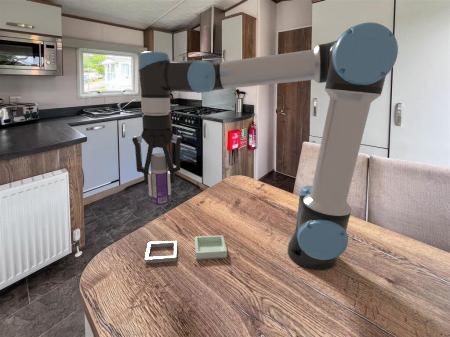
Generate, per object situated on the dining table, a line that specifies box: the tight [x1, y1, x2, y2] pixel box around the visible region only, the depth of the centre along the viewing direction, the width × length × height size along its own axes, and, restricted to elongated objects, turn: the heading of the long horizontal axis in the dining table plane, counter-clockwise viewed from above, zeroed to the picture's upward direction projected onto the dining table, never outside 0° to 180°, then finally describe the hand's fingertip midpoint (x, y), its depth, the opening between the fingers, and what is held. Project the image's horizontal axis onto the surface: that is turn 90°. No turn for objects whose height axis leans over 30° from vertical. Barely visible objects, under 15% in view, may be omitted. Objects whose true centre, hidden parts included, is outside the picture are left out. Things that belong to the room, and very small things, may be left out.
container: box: [150, 152, 170, 208], centre depth 82 cm, size 5×5×15 cm
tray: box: [194, 234, 228, 261], centre depth 91 cm, size 10×10×2 cm
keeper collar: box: [144, 240, 178, 264], centre depth 89 cm, size 9×9×2 cm
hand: (160, 193), depth 83 cm, fingers closed on container, 5 cm apart
